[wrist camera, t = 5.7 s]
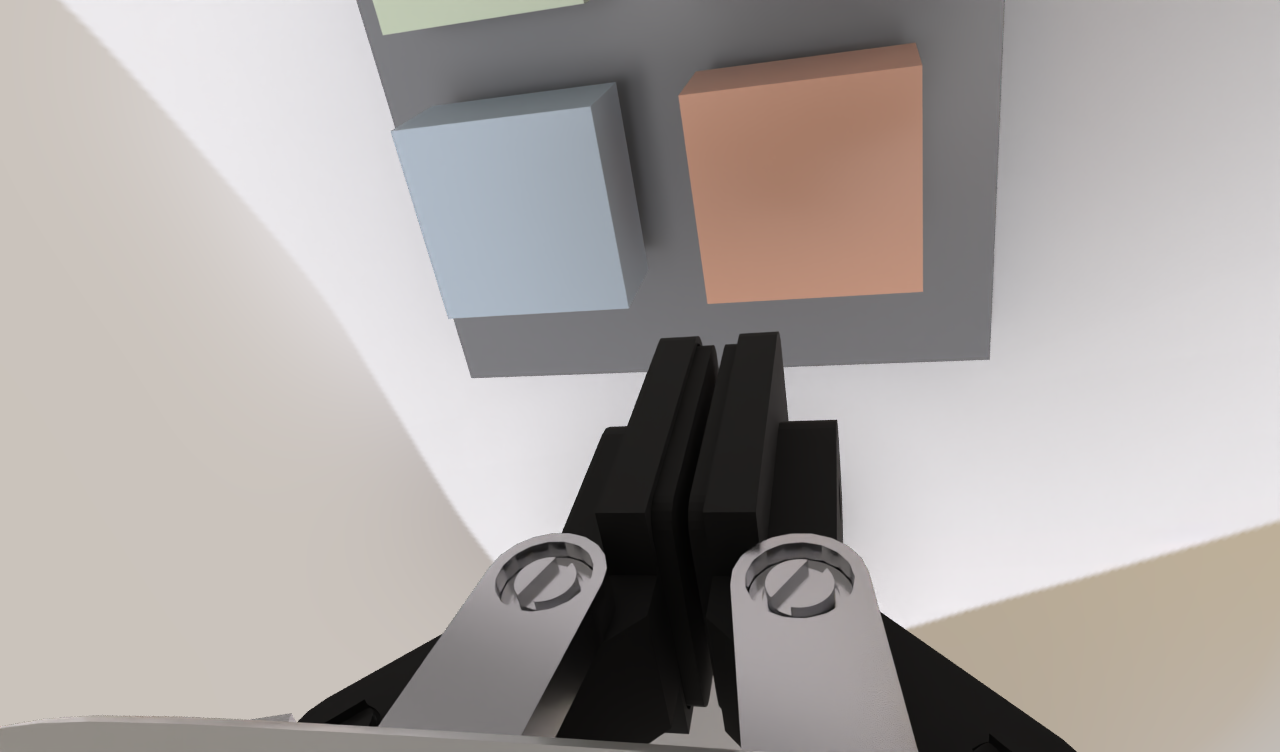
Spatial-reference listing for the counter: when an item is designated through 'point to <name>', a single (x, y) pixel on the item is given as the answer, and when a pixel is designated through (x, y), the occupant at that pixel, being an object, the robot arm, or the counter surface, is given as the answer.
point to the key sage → (452, 11)
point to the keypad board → (648, 95)
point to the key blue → (526, 202)
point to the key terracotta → (808, 175)
